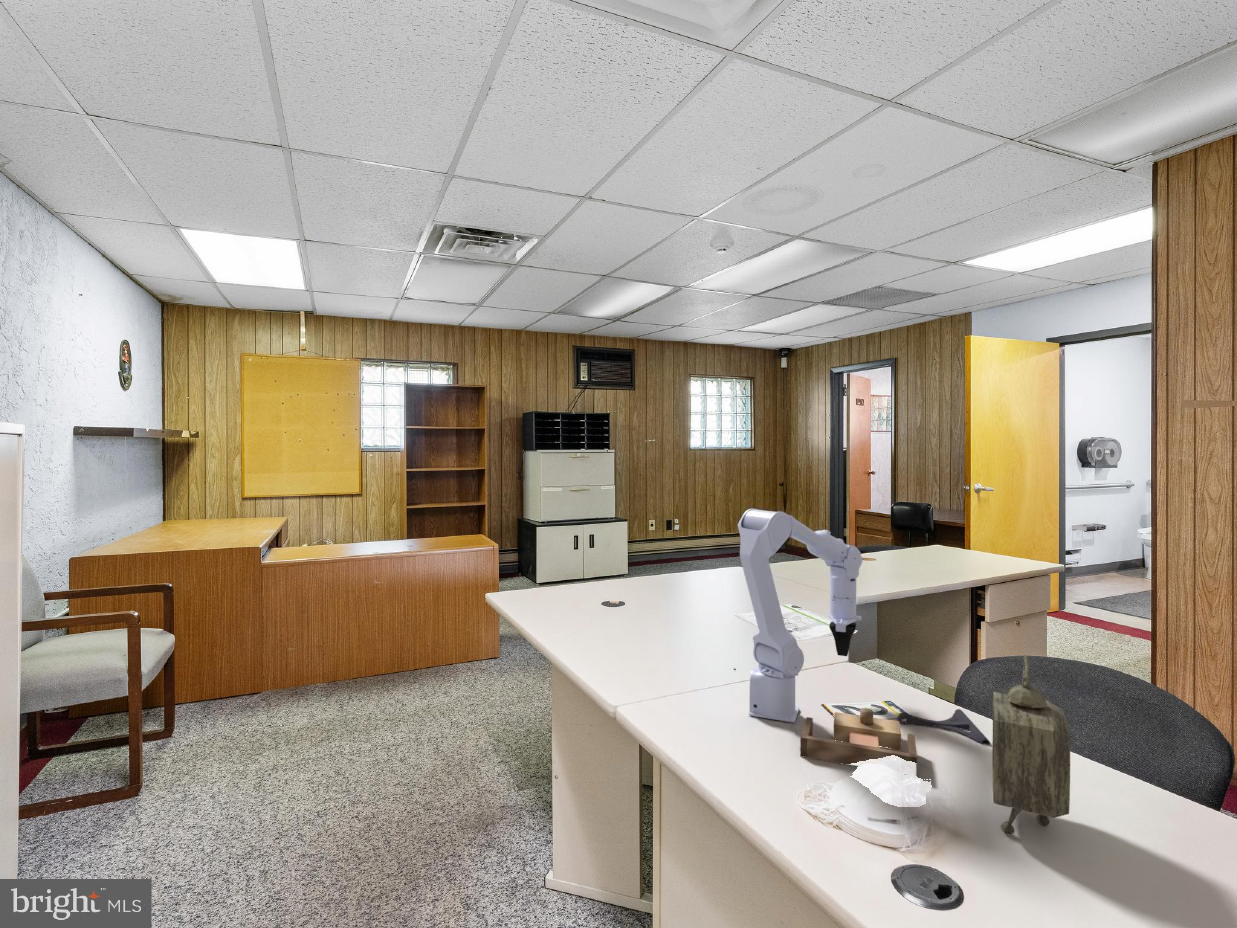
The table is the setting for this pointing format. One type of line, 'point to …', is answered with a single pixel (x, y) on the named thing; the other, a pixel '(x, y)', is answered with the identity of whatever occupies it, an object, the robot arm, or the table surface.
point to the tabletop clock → (1030, 754)
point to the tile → (864, 739)
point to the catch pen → (847, 748)
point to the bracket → (948, 725)
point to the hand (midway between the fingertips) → (842, 654)
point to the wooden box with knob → (867, 728)
